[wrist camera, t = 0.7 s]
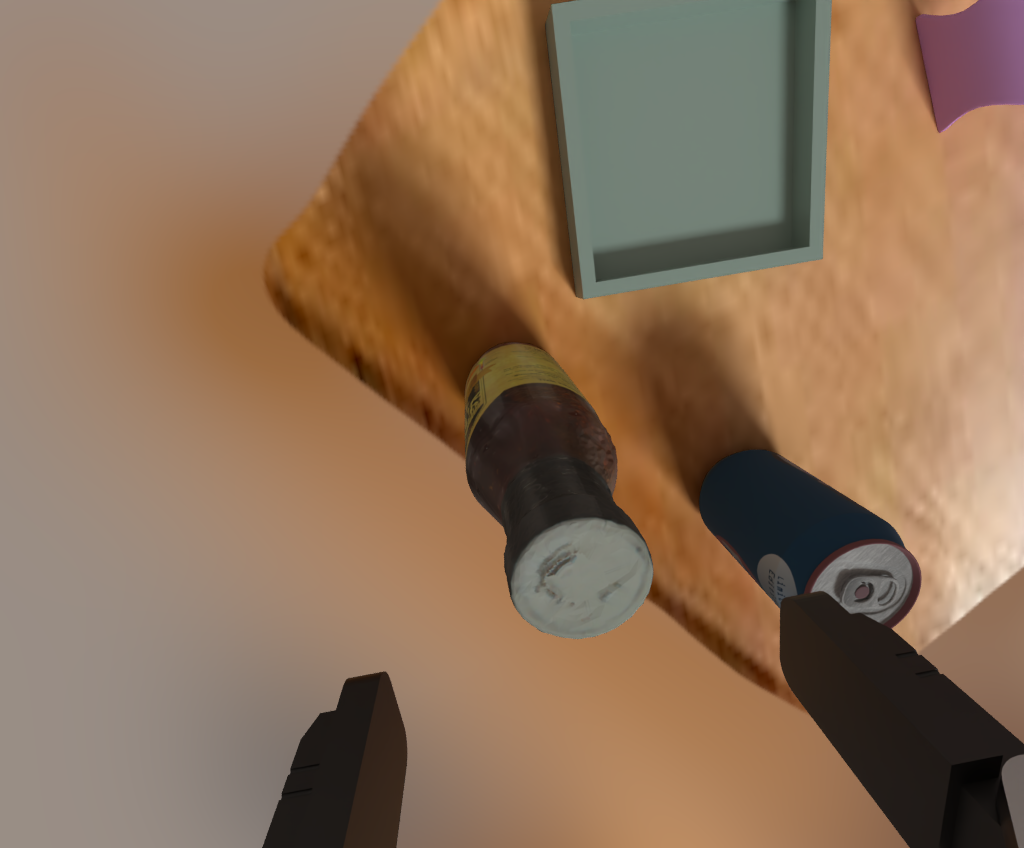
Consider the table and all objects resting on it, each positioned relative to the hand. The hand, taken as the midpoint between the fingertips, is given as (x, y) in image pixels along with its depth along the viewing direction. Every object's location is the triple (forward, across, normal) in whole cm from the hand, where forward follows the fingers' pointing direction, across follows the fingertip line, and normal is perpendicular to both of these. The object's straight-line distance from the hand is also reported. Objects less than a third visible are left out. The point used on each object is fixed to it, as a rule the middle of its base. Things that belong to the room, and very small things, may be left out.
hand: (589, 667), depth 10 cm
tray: (+23, -12, -12) cm, 29 cm away
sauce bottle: (+23, 0, 0) cm, 23 cm away
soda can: (+23, -15, +10) cm, 30 cm away
